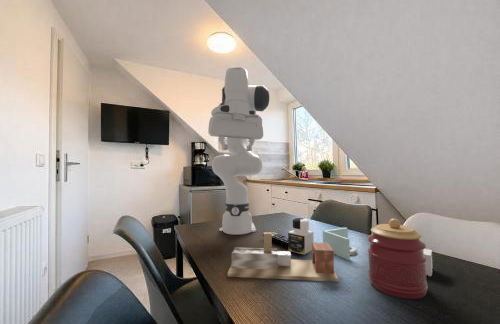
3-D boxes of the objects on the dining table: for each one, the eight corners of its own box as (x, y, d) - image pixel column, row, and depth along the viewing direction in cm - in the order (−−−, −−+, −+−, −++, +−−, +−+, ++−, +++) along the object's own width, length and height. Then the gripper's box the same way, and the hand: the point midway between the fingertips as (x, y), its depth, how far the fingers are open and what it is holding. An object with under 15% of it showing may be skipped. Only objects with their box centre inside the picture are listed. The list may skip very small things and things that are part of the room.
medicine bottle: (287, 250, 87) (287, 219, 87) (297, 246, 92) (297, 216, 93) (304, 255, 82) (304, 221, 82) (314, 250, 87) (313, 218, 88)
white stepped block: (232, 263, 70) (232, 233, 71) (234, 259, 73) (233, 230, 74) (291, 266, 68) (290, 235, 69) (290, 261, 71) (289, 232, 72)
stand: (227, 276, 66) (227, 250, 66) (235, 260, 78) (234, 238, 78) (338, 281, 62) (337, 254, 63) (328, 263, 74) (327, 240, 75)
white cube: (431, 276, 65) (430, 255, 65) (406, 271, 69) (405, 250, 69) (432, 269, 70) (431, 249, 70) (408, 264, 73) (408, 245, 74)
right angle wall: (347, 261, 77) (347, 239, 78) (323, 250, 88) (322, 230, 89) (372, 255, 82) (371, 234, 83) (345, 245, 93) (345, 227, 94)
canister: (360, 274, 66) (358, 214, 67) (405, 275, 66) (403, 214, 67) (385, 300, 53) (383, 224, 54) (441, 300, 53) (438, 224, 54)
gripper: (257, 117, 89) (258, 152, 88) (206, 110, 79) (206, 150, 78) (266, 113, 83) (266, 150, 82) (212, 105, 74) (212, 148, 73)
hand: (237, 150), depth 80 cm, fingers open, 8 cm apart
